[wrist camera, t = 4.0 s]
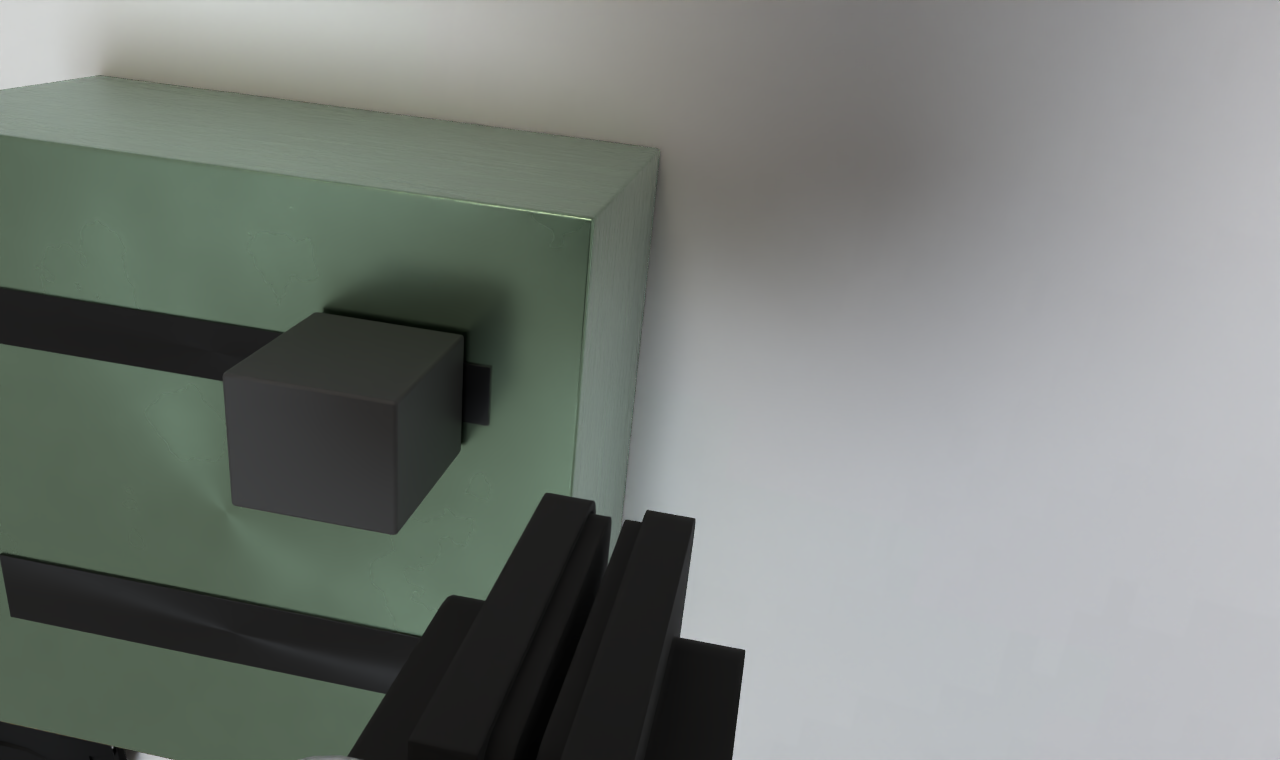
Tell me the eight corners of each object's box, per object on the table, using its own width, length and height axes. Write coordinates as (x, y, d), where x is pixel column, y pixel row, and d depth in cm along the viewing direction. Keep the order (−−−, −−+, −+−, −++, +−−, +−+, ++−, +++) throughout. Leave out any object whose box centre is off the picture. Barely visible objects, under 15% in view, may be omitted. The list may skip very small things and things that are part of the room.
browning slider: (315, 310, 15) (220, 373, 13) (465, 333, 15) (396, 402, 13) (318, 427, 16) (229, 507, 14) (461, 452, 16) (396, 538, 13)
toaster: (99, 74, 21) (-162, 112, 16) (661, 148, 20) (593, 219, 14) (153, 557, 26) (-32, 718, 20) (609, 645, 24) (543, 844, 19)
